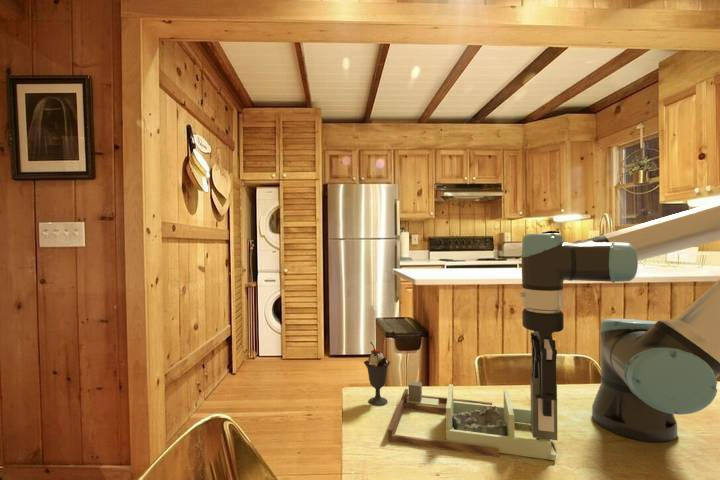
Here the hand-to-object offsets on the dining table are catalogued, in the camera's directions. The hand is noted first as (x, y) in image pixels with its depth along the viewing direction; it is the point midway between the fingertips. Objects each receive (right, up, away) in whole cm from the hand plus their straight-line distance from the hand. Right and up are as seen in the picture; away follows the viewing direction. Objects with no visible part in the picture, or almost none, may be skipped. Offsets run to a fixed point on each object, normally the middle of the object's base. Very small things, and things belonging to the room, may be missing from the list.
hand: (543, 423), depth 76 cm
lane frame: (-18, -4, +8) cm, 20 cm away
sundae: (-33, -4, +19) cm, 38 cm away
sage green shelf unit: (-8, -3, +2) cm, 9 cm away
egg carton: (-12, -4, +4) cm, 13 cm away
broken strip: (-18, -4, +16) cm, 24 cm away
